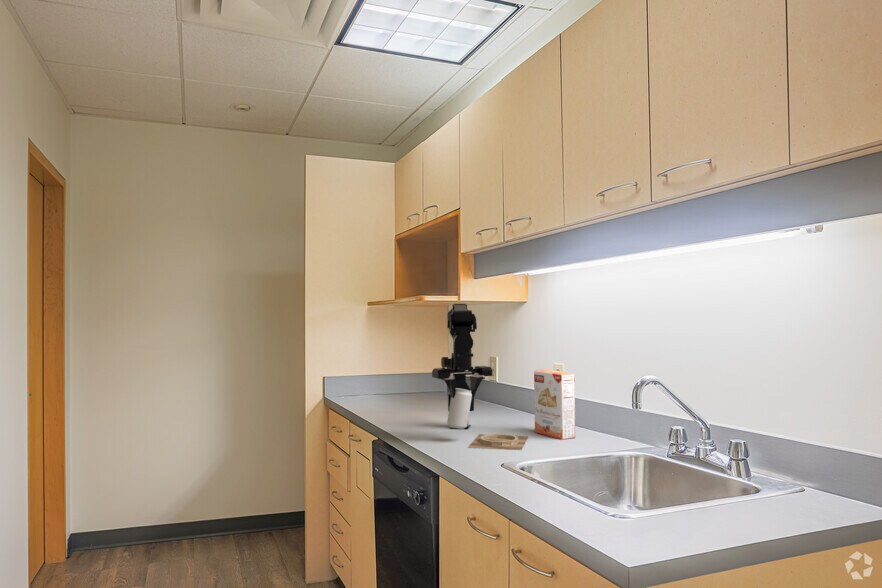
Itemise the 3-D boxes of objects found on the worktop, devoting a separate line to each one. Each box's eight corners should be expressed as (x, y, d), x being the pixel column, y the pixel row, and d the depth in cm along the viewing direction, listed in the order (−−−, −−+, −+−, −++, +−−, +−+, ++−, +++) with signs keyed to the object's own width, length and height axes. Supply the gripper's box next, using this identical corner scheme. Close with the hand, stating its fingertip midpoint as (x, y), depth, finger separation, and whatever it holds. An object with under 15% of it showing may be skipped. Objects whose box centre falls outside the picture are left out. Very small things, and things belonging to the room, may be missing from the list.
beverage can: (442, 425, 202) (449, 387, 203) (452, 424, 208) (458, 387, 208) (460, 429, 199) (466, 391, 200) (470, 428, 204) (476, 391, 205)
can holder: (479, 435, 212) (479, 430, 212) (528, 437, 209) (528, 432, 209) (467, 448, 193) (467, 443, 193) (521, 451, 189) (521, 445, 189)
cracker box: (533, 433, 216) (533, 370, 216) (547, 431, 219) (547, 368, 219) (561, 440, 203) (560, 373, 204) (576, 438, 207) (575, 372, 207)
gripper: (478, 347, 215) (478, 394, 215) (425, 349, 208) (425, 398, 208) (493, 349, 205) (493, 399, 205) (438, 351, 198) (439, 403, 197)
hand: (462, 399), depth 204 cm, fingers closed on beverage can, 6 cm apart
